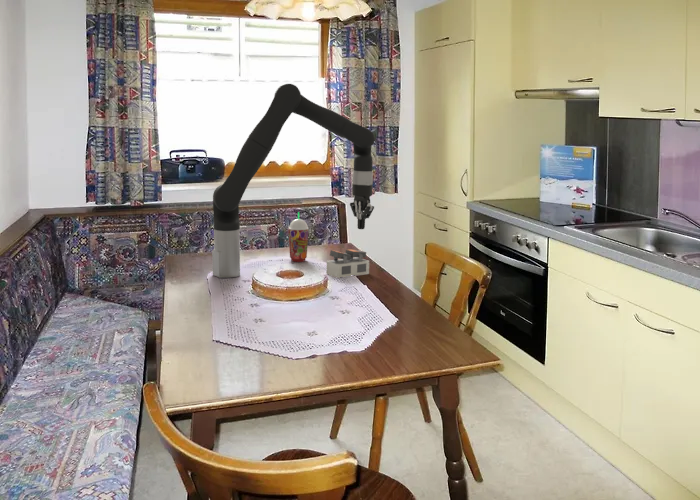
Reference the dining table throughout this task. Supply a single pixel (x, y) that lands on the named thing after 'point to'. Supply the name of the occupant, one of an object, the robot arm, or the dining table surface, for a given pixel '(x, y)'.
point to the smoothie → (298, 240)
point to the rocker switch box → (347, 267)
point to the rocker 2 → (356, 253)
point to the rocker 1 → (339, 254)
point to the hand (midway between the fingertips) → (361, 228)
